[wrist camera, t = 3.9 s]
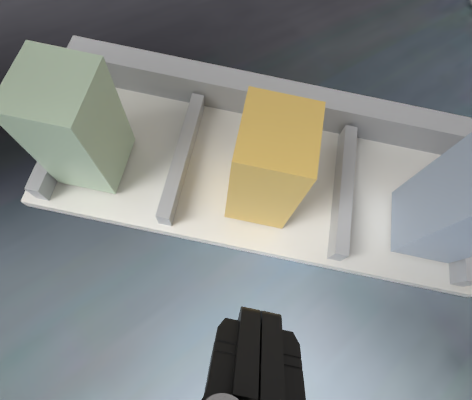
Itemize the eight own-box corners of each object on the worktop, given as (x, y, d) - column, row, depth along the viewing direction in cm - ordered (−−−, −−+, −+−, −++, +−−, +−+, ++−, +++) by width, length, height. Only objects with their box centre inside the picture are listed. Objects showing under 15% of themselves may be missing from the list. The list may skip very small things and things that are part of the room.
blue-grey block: (448, 263, 26) (564, 230, 17) (390, 251, 26) (478, 213, 17) (445, 203, 27) (548, 148, 19) (391, 192, 27) (471, 132, 19)
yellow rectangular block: (281, 228, 26) (317, 179, 17) (224, 216, 26) (231, 161, 17) (290, 171, 28) (325, 101, 19) (236, 160, 28) (248, 85, 19)
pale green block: (115, 194, 26) (70, 128, 17) (58, 182, 26) (-15, 110, 17) (135, 139, 28) (103, 55, 19) (81, 128, 28) (26, 39, 19)
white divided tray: (466, 297, 26) (509, 291, 22) (27, 206, 26) (-4, 185, 22) (457, 144, 31) (490, 119, 28) (90, 68, 31) (74, 33, 28)
